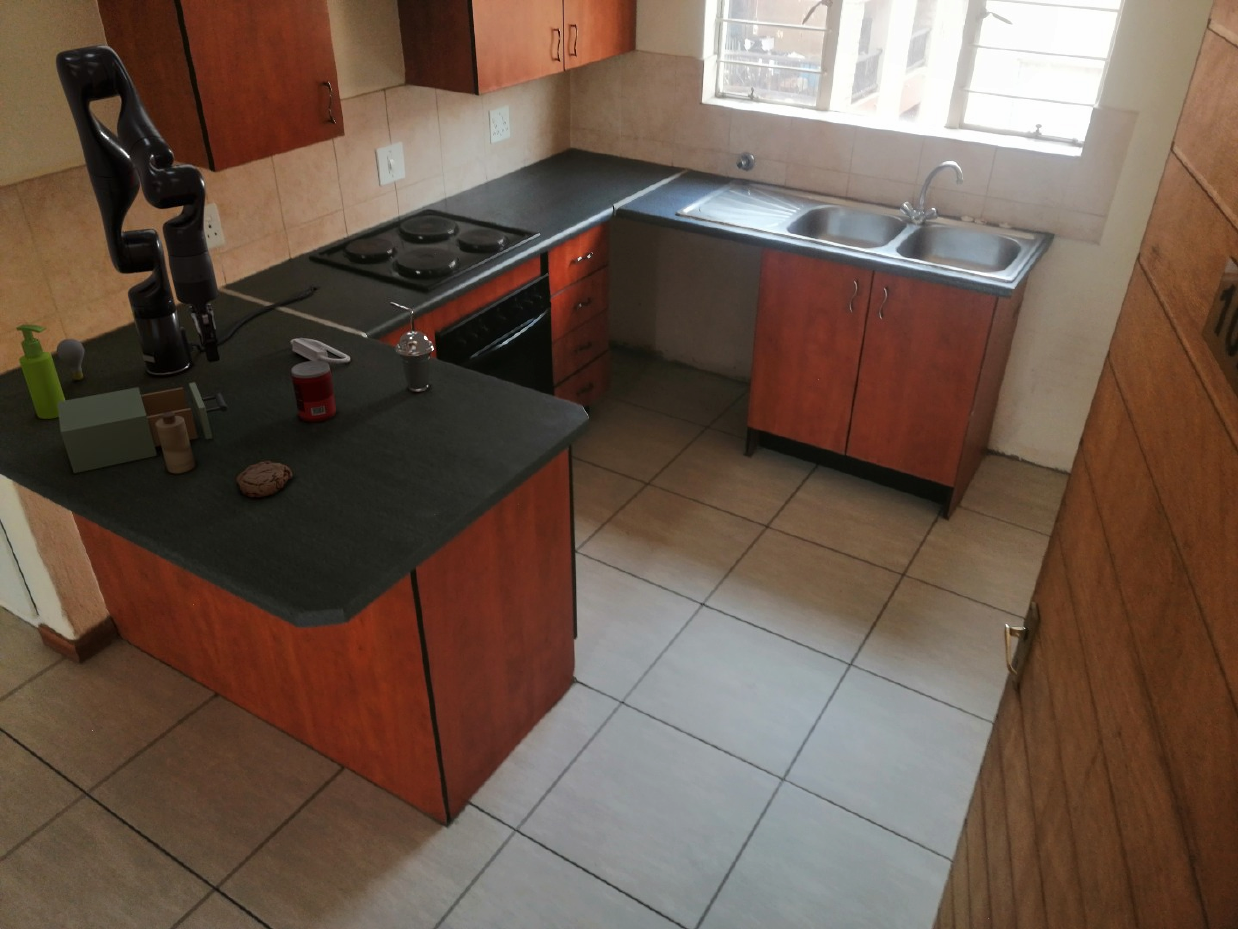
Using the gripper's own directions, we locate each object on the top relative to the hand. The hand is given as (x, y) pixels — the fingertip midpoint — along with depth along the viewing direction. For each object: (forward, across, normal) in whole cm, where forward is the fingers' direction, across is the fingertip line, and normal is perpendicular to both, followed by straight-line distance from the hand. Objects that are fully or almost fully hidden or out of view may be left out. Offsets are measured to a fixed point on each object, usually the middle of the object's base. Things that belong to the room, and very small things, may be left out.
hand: (210, 353), depth 186 cm
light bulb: (+19, +44, +26) cm, 55 cm away
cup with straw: (+18, +4, -42) cm, 46 cm away
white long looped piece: (+19, +33, -26) cm, 46 cm away
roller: (+18, -10, +10) cm, 23 cm away
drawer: (+17, +4, +8) cm, 20 cm away
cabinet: (+18, +4, +22) cm, 29 cm away
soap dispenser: (+19, +27, +31) cm, 46 cm away
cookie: (+18, -24, -3) cm, 31 cm away
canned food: (+18, +1, -19) cm, 26 cm away
